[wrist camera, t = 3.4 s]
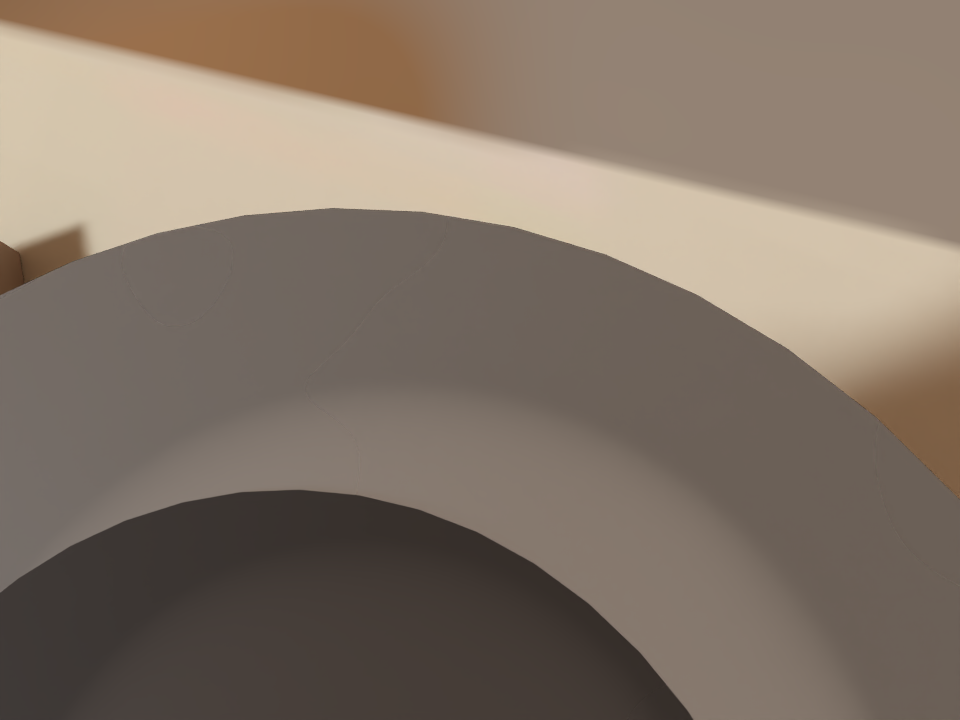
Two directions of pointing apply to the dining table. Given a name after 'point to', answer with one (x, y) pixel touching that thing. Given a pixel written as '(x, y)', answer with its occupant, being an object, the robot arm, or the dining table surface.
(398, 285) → the silver metal cup
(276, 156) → the dining table surface
